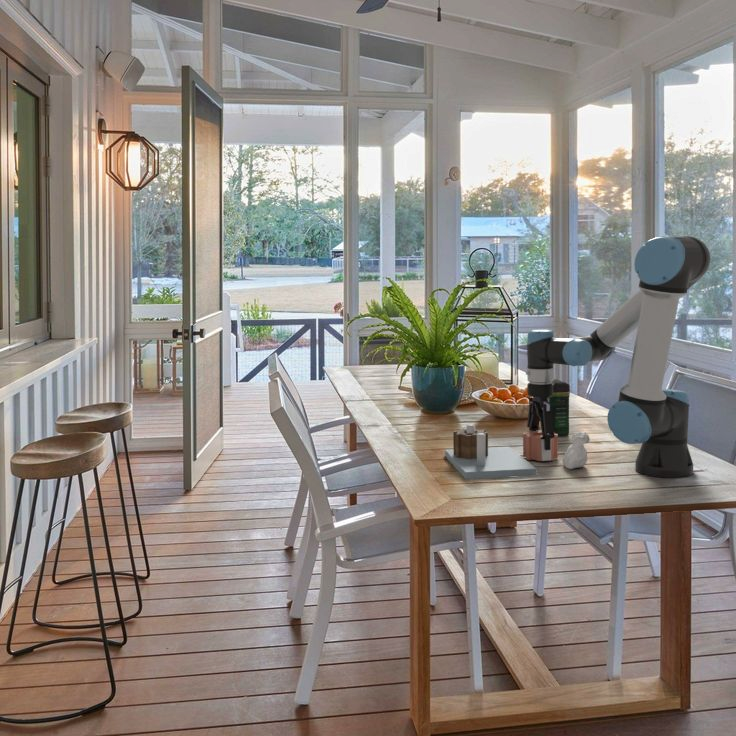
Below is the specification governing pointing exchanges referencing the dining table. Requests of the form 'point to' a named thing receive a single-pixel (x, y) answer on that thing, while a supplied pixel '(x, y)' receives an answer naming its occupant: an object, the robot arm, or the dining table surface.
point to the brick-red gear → (537, 445)
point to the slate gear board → (490, 461)
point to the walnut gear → (467, 443)
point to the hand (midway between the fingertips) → (540, 456)
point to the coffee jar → (560, 407)
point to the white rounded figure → (576, 451)
